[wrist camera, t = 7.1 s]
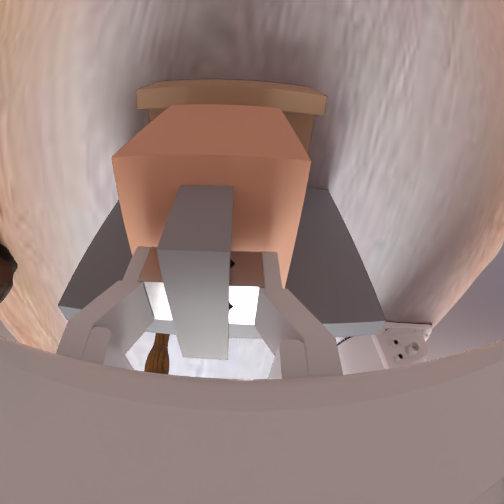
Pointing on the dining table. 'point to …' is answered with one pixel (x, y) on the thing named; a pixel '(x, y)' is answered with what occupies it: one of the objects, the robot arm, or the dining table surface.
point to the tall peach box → (211, 205)
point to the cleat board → (308, 235)
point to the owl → (6, 272)
